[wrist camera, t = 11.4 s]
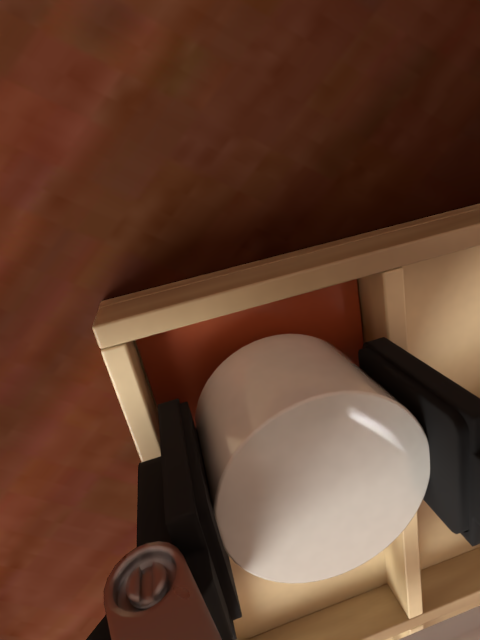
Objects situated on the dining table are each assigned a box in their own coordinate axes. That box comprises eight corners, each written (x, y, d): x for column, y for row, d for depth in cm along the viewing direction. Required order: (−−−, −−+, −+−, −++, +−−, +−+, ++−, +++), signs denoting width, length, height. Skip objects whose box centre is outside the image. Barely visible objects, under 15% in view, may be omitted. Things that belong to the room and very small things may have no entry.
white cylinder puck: (174, 362, 10) (186, 437, 7) (350, 312, 11) (428, 361, 8) (216, 505, 12) (240, 614, 9) (366, 454, 12) (435, 539, 9)
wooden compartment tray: (99, 301, 11) (90, 326, 9) (735, 136, 14) (831, 129, 12) (253, 737, 19) (266, 801, 17) (636, 571, 22) (685, 609, 20)
